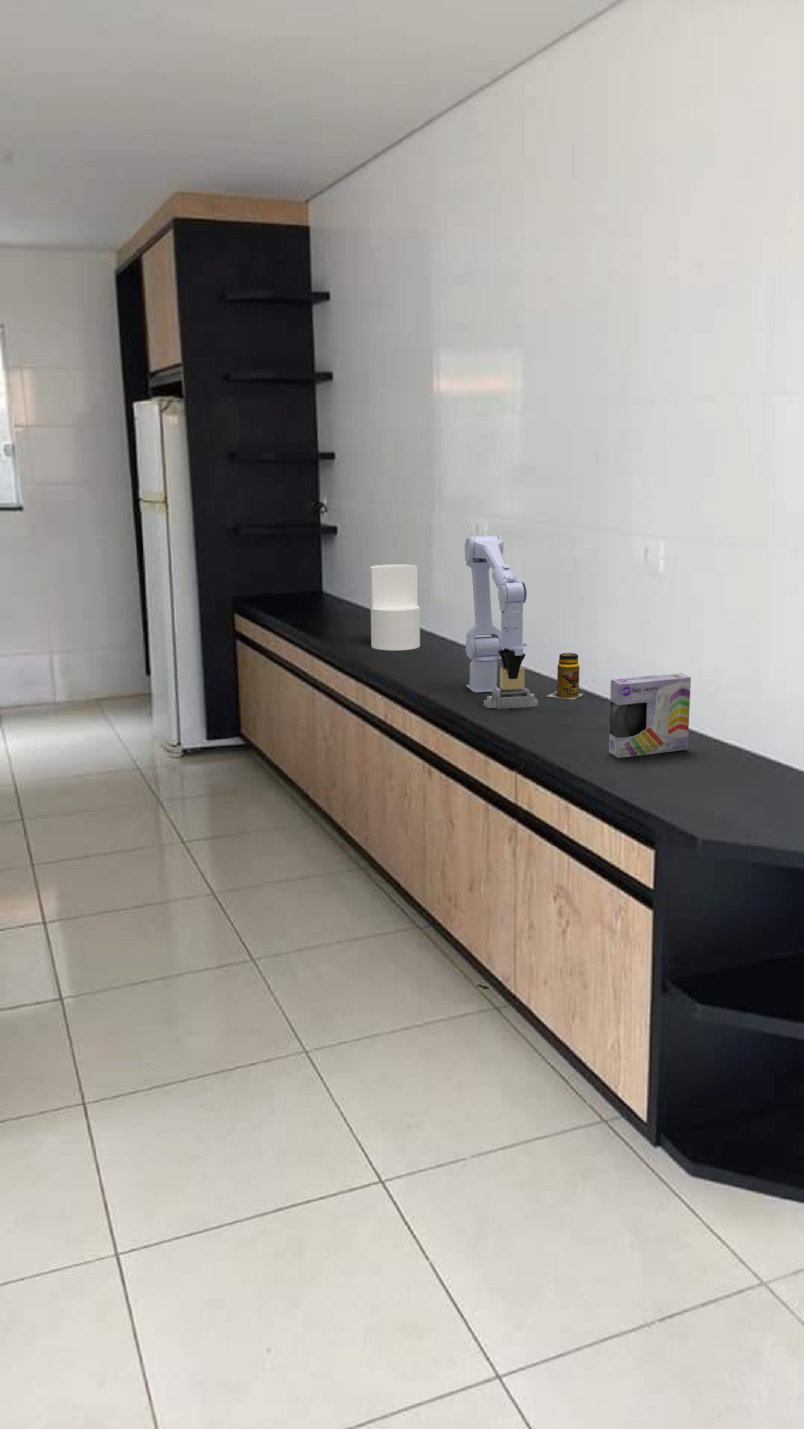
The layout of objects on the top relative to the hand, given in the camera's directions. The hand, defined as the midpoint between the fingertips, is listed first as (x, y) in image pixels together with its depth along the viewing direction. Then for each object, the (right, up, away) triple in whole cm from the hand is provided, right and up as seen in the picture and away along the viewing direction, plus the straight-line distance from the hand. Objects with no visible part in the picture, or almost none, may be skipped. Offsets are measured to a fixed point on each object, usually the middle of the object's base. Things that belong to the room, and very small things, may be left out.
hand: (511, 677), depth 303 cm
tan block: (0, -3, +1) cm, 3 cm away
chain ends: (0, -8, +2) cm, 8 cm away
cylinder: (-32, +14, +96) cm, 102 cm away
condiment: (+16, -5, +14) cm, 22 cm away
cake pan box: (+26, -19, -46) cm, 56 cm away
